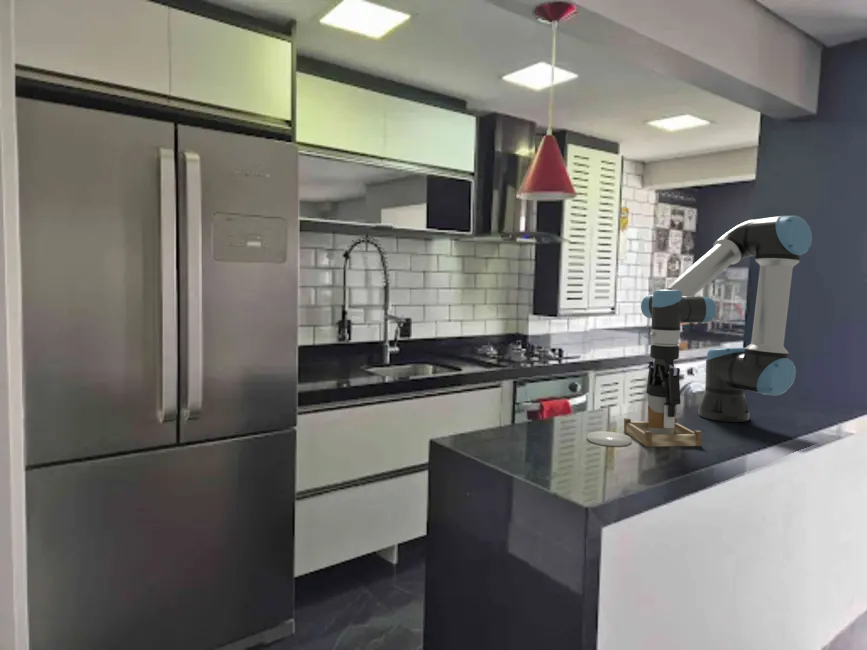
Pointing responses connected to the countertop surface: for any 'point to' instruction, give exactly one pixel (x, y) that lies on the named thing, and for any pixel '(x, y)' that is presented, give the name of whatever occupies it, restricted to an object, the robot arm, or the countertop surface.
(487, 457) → the countertop surface
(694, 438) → the wooden frame
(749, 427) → the countertop surface
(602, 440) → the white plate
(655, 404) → the coffee cup
